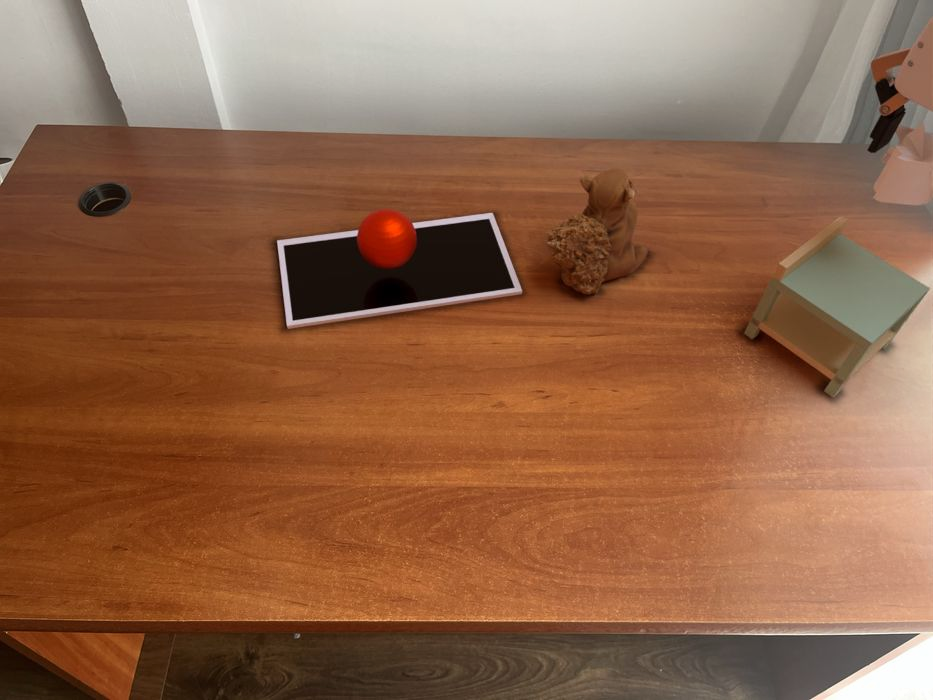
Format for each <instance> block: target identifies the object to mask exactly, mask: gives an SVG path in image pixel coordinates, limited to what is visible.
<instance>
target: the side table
mask: <svg viewBox="0 0 933 700" xmlns="http://www.w3.org/2000/svg"><path fill="white" fill-rule="evenodd" d="M848 221H849V220H848V219H847V218H845V217H843V216H842V215H839V216H838V217H837V218H836V219H834V220H833V221H832V222H830V223H829V224H827V226H825V227H824V228H822V229H821V230H820V231H818V233H816V234H815V235H813V236H812V237H810V239H808V240H807V241H806V242H804V243H803V244H802V245H801V246H799V247H798V248H796V249H795V250H794V251H793V252H791V253H790V254H789V255H787V256H786V257H785V258H784V259H783V260H781V261H780V262H778V264H777V266H776V267H775V270H774V272H773V274H772V276H771V278H770V280H769V282H768V284H767V286H766V287H765V290H764V292H763V294H762V296H761V298H760V300H759V303H758V304H757V305H756V308H755V310H754V312H753V314H752V316H751V318H750V320H749V322H748V323H747V326H746V328H745V331H744V332H743V334H744V335H745V336H747V337H748V338H750V339H751V340H754V339H755V338H756V337H758V335H759V334H760V332H761V331H762V332H763V333H765V334H766V335H768V336H769V337H771V338H772V339H773V340H775V341H776V342H777V343H779V344H780V345H782V346H783V347H785V348H786V349H787V350H789V351H790V352H792V353H793V354H794V355H796V356H797V357H799V358H800V359H801V360H803V361H804V362H806V363H807V364H808V365H810V366H811V367H813V368H814V369H816V370H817V371H818V372H819V373H821V374H823V375H824V376H825V377H826V378H827V379H830V381H829V382H828V384H827V385H826V387H825V389H824V390H823V392H824V393H825V394H827V395H828V396H830V397H831V398H834V397H836V396H837V395H838V394H839V392H840V391H841V390H842V389H843V387H844V386H845V384H846V383H847V382H848V380H850V379H851V378H852V377H853V376H854V375H855V374H856V373H857V372H858V371H859V370H860V369H861V368H862V367H864V365H866V364H867V363H868V362H869V361H870V360H871V359H872V358H873V357H874V356H875V355H876V354H877V353H878V352H879V351H880V350H881V349H882V350H885V349H886V348H887V347H888V346H889V345H890V344H891V342H892V341H893V340H894V339H895V337H896V335H897V334H899V332H900V331H901V329H902V327H903V326H904V325H905V324H906V323H907V321H908V319H909V318H910V317H911V316H912V314H913V313H914V311H916V308H917V307H918V306H919V305H920V303H921V302H922V301H923V299H924V297H925V296H926V295H927V294H928V292H929V291H930V290H931V287H929V286H927V285H926V284H924V283H922V282H920V281H919V280H918V279H915V278H914V277H912V276H911V275H909V274H908V273H906V272H904V271H903V270H901V269H899V268H898V267H896V266H894V265H893V264H891V263H889V262H888V261H886V260H884V259H883V258H881V257H879V256H878V255H877V254H874V253H873V252H871V251H870V250H868V249H866V248H865V247H863V246H861V245H859V244H858V243H856V242H855V241H853V240H852V239H850V238H848V237H847V236H845V235H843V234H841V233H842V232H843V230H844V229H845V227H846V225H847V223H848Z"/></svg>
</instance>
